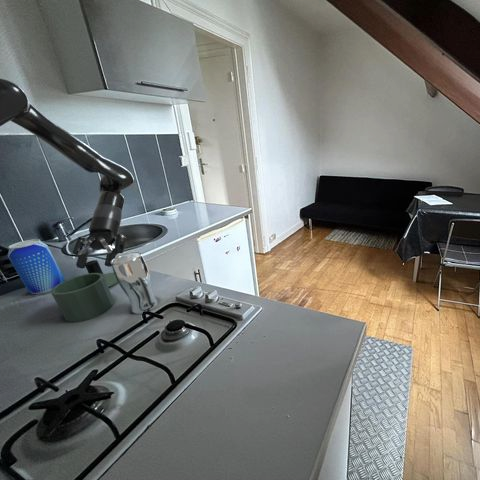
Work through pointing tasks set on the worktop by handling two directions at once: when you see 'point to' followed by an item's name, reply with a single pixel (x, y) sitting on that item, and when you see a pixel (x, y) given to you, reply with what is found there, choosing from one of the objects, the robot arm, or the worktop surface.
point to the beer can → (35, 266)
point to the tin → (83, 297)
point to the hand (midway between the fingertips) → (94, 267)
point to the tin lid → (95, 268)
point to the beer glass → (135, 281)
